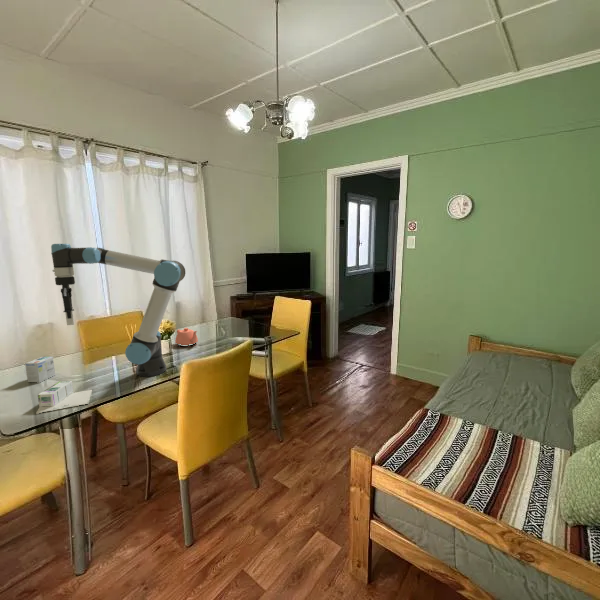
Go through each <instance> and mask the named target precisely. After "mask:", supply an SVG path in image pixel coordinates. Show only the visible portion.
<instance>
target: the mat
mask: <svg viewBox="0 0 600 600" xmlns="http://www.w3.org/2000/svg"><path fill="white" fill-rule="evenodd" d="M92 393H93V390H92V389H88V390H83V391H78V392H77V391H76V392H73V393H71V394H70V395H68V396H67V397H66V398H64V399H63V400H61V401H60V402H59V403H57V404H56V405H54V406H43V407H38V409H37V411H36V412H35V414H36V415H40V414H39V413H41V414H43V413H42V412H46V411H51V410H54V409H53V408H54V407H60V406H61V405H62V406H64V405H68V404H69V406H70V404H71V406H72V405H74V406H75V405H76V406H78V407H80V406H79V405H84V406H86V405H85V404H88V405H89V403H90V399H91V396H92ZM46 413H47V412H46Z"/></svg>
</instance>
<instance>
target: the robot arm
mask: <svg viewBox="0 0 600 600" xmlns="http://www.w3.org/2000/svg"><path fill="white" fill-rule="evenodd" d="M50 249H51V258H52V264H53V269H52V272H53V273H54V277H55V278H54V280H55V281H54V282H55V285H56V286H61V287H62V288H60V293H61V298H62V303H63V307H64V308H63V309H64V310H63V313H65V319H66V325H67V326H72V325H75V322H74V321H75V320H74V313H73V312H74V311H75V309H74V308H73V302H72V296H73V295H72V294H73V293H72V291H73V290H72V287H70V286H71V285H75V283H76V280H75V277H74V275H75V271H74V265H75V264H78V265H79V264H85V265H86V264H89V265H90V264H92V265H94V264H101V265H108V266H113V267H118V268H123V269H127V270H132V271H136V272H142V273H147V274H150V275H151V274H152V275H153V281H152V286H153V290H152V293H151V296H150V299H149V301H148V304H147V307H146V309H145V313H144V315H143V318H142V321H141V323H140V326H139V329H138V331H137V332H134V334H133V336H132V339H131V341H130V343H129V344H128V345H127V346H126V348H125V353H124V354H125V358H126V359H127V361H128V362H130V363H131V364H133V365H137V366H136V375H137V376H138V375H139V376H138V377H153V376H158V375H161V374H164V373H165V372H166V371H167V364H166V363H165V360H164V358H163V354H162V353H163V352H162V351H163V350H162V334H161V332H160V330H159V329H160V327H161V324H162V322H163V319H164V316H165V312H166V311H167V308H168V305H169V303H170V300H171V297H172V294H173V293H175V292H177V290H178V287H179V284H180V282H181V281H183V279H184V278H185V276H186V268H185V266H184V265H183V263H181V262H180V261H177V260H169V259H168V260H167V259H160V260H157V259H152V258H148V257H145V256H144V257H143V256H139V255H133V254H128V253H122V252H119V251H115V250H114V251H113V250H108V249H105V248H103V247H72V246H71V244H70V243H53V244H51V246H50ZM165 370H166V371H165ZM164 371H165V372H164Z"/></svg>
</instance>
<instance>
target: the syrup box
mask: <svg viewBox="0 0 600 600" xmlns="http://www.w3.org/2000/svg"><path fill="white" fill-rule="evenodd" d="M73 387H74V386H73V381H72V380H67V381H65V380H64V381H61V380H60V381H58V382H56V383H55V384H53V385H51V386H49V387H48V388H47V389H45V390H43V391H41V392H40V393H38V394H37V401H38V405H39V407H43V406H54V405H56V404H57V403H59V402H60V401H61V400H63V399H64V398H66V397H67V396H68V395H70V394H71V393H74V388H73ZM39 407H38V408H39Z"/></svg>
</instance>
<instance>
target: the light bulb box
mask: <svg viewBox="0 0 600 600" xmlns="http://www.w3.org/2000/svg"><path fill="white" fill-rule="evenodd" d="M24 366H25V371H26V379H27V383H28V382H37V383H36V384H40V382H41V383H42V381H43V382H45V381H47V380H49V379H51V378H53V377H55V376H56V370H55V369H56V368H55V362H54V356H40V357H38V358H35V359H33V360H31V361H28V362H25V363H24ZM54 375H55V376H54ZM52 376H53V377H52ZM50 377H51V378H50ZM48 378H49V379H48ZM46 379H47V380H46ZM44 380H45V381H44Z"/></svg>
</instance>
